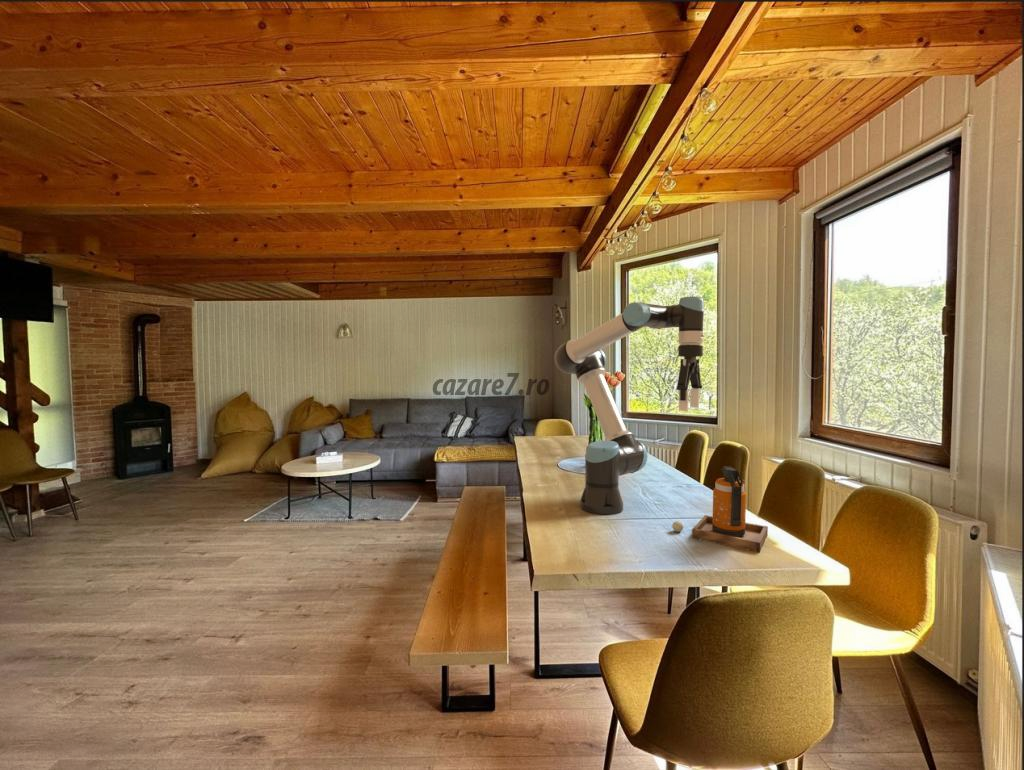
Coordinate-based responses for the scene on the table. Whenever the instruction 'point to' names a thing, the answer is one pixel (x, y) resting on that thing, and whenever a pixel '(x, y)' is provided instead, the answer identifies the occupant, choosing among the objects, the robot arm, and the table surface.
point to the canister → (729, 504)
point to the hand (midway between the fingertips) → (689, 409)
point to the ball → (677, 526)
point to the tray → (749, 540)
